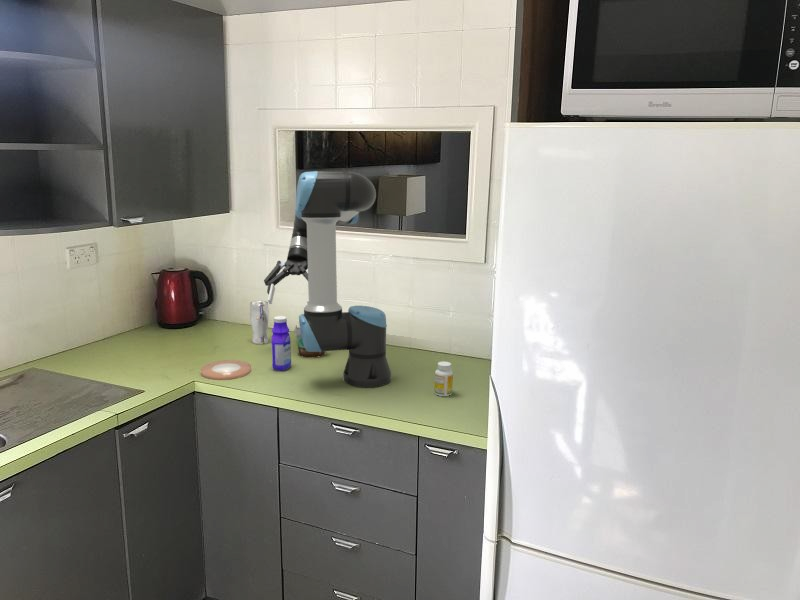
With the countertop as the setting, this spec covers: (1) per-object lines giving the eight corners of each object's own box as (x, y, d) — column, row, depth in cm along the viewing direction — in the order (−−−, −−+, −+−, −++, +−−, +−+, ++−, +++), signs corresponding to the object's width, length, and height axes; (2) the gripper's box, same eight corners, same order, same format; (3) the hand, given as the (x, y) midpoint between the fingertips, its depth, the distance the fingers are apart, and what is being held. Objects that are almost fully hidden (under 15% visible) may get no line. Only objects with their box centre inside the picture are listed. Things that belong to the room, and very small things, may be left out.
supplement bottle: (436, 397, 194) (437, 366, 192) (432, 390, 199) (433, 361, 197) (454, 396, 195) (455, 366, 193) (449, 390, 200) (450, 360, 198)
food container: (289, 357, 228) (289, 329, 225) (295, 351, 234) (294, 324, 231) (323, 359, 226) (323, 332, 223) (328, 354, 231) (328, 327, 229)
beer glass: (257, 345, 240) (255, 306, 236) (247, 341, 245) (245, 302, 241) (273, 342, 244) (272, 303, 241) (263, 337, 249) (262, 299, 246)
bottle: (285, 372, 213) (284, 320, 209) (269, 370, 214) (267, 319, 210) (293, 365, 220) (292, 315, 216) (277, 363, 221) (276, 313, 217)
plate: (261, 367, 217) (261, 364, 216) (229, 383, 203) (229, 379, 202) (223, 360, 223) (223, 357, 223) (189, 374, 209) (189, 371, 209)
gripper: (335, 259, 236) (326, 309, 225) (267, 256, 239) (256, 306, 228) (332, 247, 230) (323, 298, 219) (262, 244, 232) (250, 295, 221)
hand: (289, 302), depth 223 cm, fingers open, 13 cm apart
